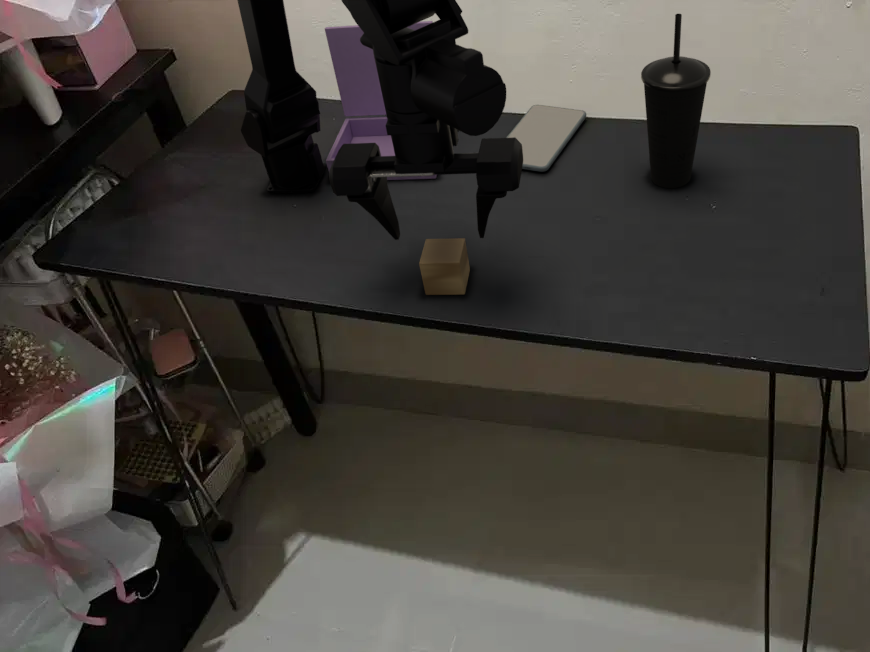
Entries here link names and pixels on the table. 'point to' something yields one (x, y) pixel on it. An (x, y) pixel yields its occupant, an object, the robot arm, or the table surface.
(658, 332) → the table surface
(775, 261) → the table surface
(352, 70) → the purple hinged lid
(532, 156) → the smartphone
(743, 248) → the table surface
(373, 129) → the purple box
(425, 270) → the block
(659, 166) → the drinking cup
